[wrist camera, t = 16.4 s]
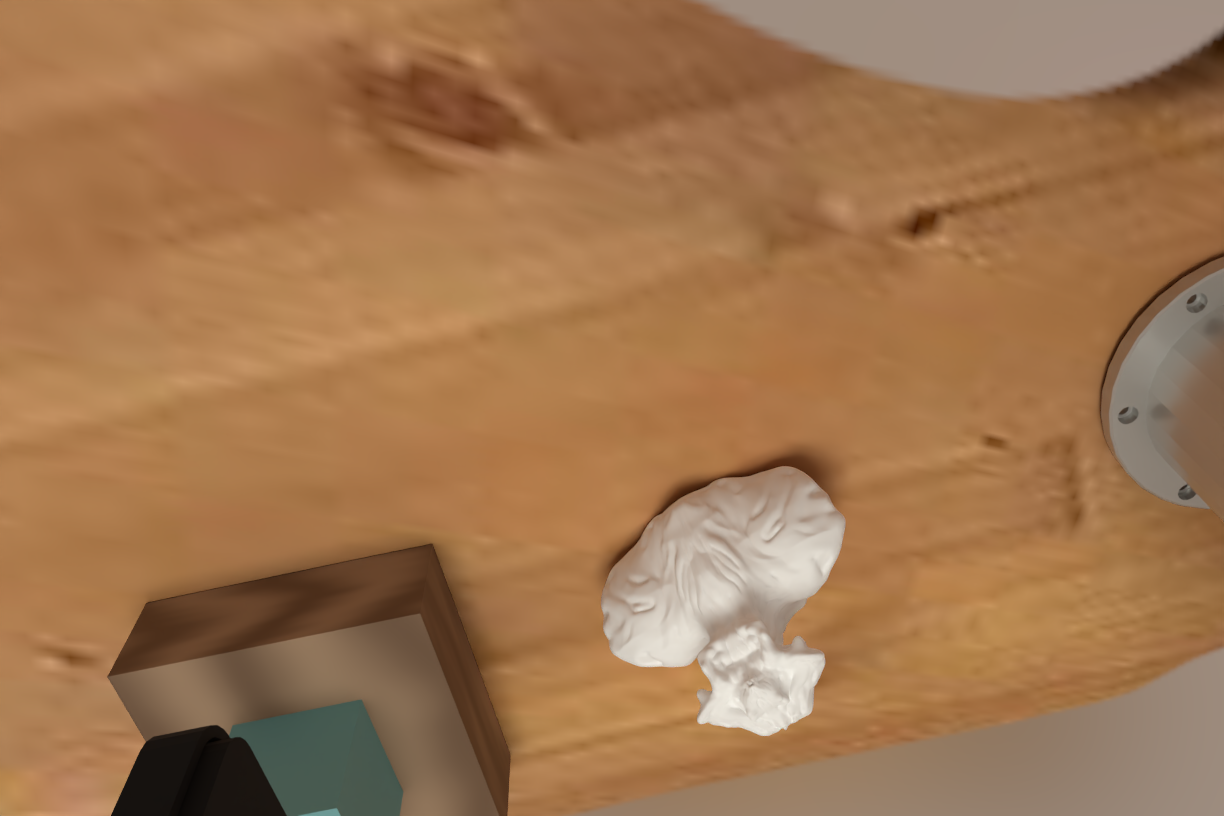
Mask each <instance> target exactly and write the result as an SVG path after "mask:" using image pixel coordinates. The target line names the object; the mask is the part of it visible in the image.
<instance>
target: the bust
mask: <svg viewBox="0 0 1224 816" xmlns="http://www.w3.org/2000/svg"><path fill="white" fill-rule="evenodd" d="M844 530H845V518H844V516H843V515H842V514H841V513H840V512H839V511H838V510H837V509H836V508H835V507H834V505H833V504H832V502H831V500H830V497H829V496H828V494H827V493H826V492H825V491H824V490H822V489H821V488H820V487H819V486H818V484H817V483H816V482H815V481H814V480H813V479H812V478H811V477H809V476H808V475H807V474H806V473H804V472H803V471H800V470H799V469H797V468H794V467H790V466H780V467H777V468H774V469H770V470H767V471H763V472H760V473H757V474H754V475H751V476H747V477H732V478H731V477H730V478H721V479H718V480H715V481H713V482H712V483H711V484H709V485H708V486H707V487H704V488H702V489H699V490H697V491H694V492H692V493H689V494H687V495H685V496H683V497H681V498H680V499H678V500H677V501H676V502H674V503H673V504H672V505H671V506H669V507H668V508H667V509H666V510H665V511H664V512H663V513H662V514H659V515H657V516H656V517H654V518H653V519H652V520H651V521H650V523H649V524H648V525H647V527H646V528H645V530H644V532H643V534H642V536H641V538H640V540H639V541H638V543H637V544H636V545H635V546H634V547H633V548H632V549H631V550H630V551H629V552H628V553H627V554H626V555H625V556H624V557H623V558H622V559H621V560H620V561H619V562H618V563H616V564H615V565H614V567H613V568H612V570H611V571H610V573H609V576H608V578H607V580H606V583H605V586H604V589H603V592H602V597H601V607H602V610H603V614H604V620H603V630H604V633H605V635H606V636H607V638H608V639H609V646H610V649H611V651H612V653H613V654H614V655H615V656H617V657H619V658H620V659H622V660H624V661H626V662H629V663H631V664H634V665H637V666H641V667H658V666H665V667H681V666H687V665H689V664H691V663H692V662H693V661H694V660H695V659H696V658H698V662H699V664H700V666H701V669H702V671H703V672H704V674H705V675H706V676H707V677H708V679H709V680H710V683H711V686H712V691H706V690H704V689H700V690H698V691H697V697H698V699H699V701H700V704H701V708H700V710H699V713H698V716H697V721H698V723H700V724H704V723H707V722H709V723H710V724H712V725H718V726H724V727H734V728H736V727H740V728H743V729H746V730H749V731H752V732H754V733H756V734H758V735H761V736H769V735H771V734H773V733H776V732H778V731H779V730H780V729H782V728H784V729H785V730H787V727H788V726H789V724H790V725H791V723H795V722H797V721H798V720H799V719H801V718H803V717H805V716H807V715H809V714H810V713H811V711H812V708H813V702H814V686H815V685H816V684H817V682H818V680H819V678H820V675H821V673H822V671H823V668H824V666H825V658H824V653H823V652H822V651H821V650H818V649H814V648H809V647H807V646H806V642H805V641H804V640H803V638H802V637H800V636H796V637H795V638H794V639H793V642H792V644H790V645H783V633H784V631H785V629H786V626H787V624H788V622H789V621H790V619H791V618H792V616H793V615H794V614H795V613H796V612H797V611H799V610H800V609H801V608H803V607H804V605H805V604H806V601H807V598H808V597H811V596H813V595H814V594H815V593H817V591H818V590H819V589H820V588H821V586H822V585H823V584H824V583H825V582H826V580H827V579H828V576H829V573H830V571H831V569H832V567H833V565H834V563H835V561H836V559H837V557H838V555H839V552H840V549H841V546H842V540H843V535H844Z"/></svg>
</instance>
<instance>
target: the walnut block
mask: <svg viewBox="0 0 1224 816" xmlns="http://www.w3.org/2000/svg"><path fill="white" fill-rule="evenodd" d="M108 679H109V680H110V682H111V684H112V685H113V687H114V689H115V690H116V692H117V694H118V696H119V697H120V699H121V701H122V702H123V704H124V706H125V707H126V709H127V711H128V712H129V714H130V716H131V717H132V719H133V721H134V722H135V724H136V726H137V728H138V729H139V731H140V733H141V734H142V736H143V738H144V739H145V741H146V742H147V741H148V740H149V739H151V738H152V737H154V736H159V735H164V734H169V733H174V732H179V731H184V730H189V729H194V728H199V727H204V726H209V725H218V726H220V727H221V728H223V729H224V730H225V731H226V732H227V734H228V735H229V734H230V731H231V729H232V726H233V725H237V724H242V723H247V722H252V721H257V720H262V719H267V718H271V717H276V716H281V715H286V714H291V713H296V712H301V711H306V710H311V709H316V708H321V707H326V706H331V705H336V704H341V703H346V702H351V701H356V700H361V699H362V702H363V704H364V706H365V708H366V711H367V713H368V715H369V717H370V719H371V722H372V724H373V726H374V728H375V730H376V733H377V735H378V737H379V739H380V741H381V744H382V746H383V748H384V750H385V752H386V755H387V757H388V759H389V761H390V763H391V766H392V768H393V770H394V772H395V774H396V777H397V779H398V781H399V783H400V785H401V788H402V790H403V798H402V804H401V810H400V816H507V812H508V793H509V774H510V753H509V750H508V747H507V745H506V742H505V739H504V737H503V734H502V731H501V728H500V726H499V723H498V720H497V718H496V715H495V712H494V710H493V707H492V704H491V701H490V699H489V696H488V693H487V691H486V688H485V685H484V682H483V680H482V677H481V674H480V672H479V669H478V666H477V664H476V661H475V658H474V655H473V653H472V650H471V647H470V645H469V642H468V639H467V636H466V634H465V631H464V628H463V626H462V623H461V620H460V618H459V615H458V612H457V609H456V607H455V604H454V601H453V599H452V596H451V593H450V590H449V588H448V585H447V582H446V580H445V577H444V574H443V572H442V569H441V566H440V563H439V561H438V558H437V555H436V553H435V550H434V547H433V545H432V544H430V545H425V546H420V547H415V548H411V549H406V550H401V551H396V552H391V553H386V554H382V555H377V556H372V557H367V558H362V559H357V560H353V561H348V562H343V563H338V564H333V565H329V566H324V567H319V568H314V569H309V570H304V571H300V572H295V573H290V574H285V575H280V576H275V577H271V578H266V579H261V580H256V581H251V582H247V583H242V584H237V585H232V586H227V587H222V588H218V589H213V590H208V591H203V592H198V593H193V594H189V595H184V596H179V597H174V598H169V599H165V600H160V601H155V602H150V603H146V605H145V607H144V609H143V611H142V613H141V615H140V616H139V618H138V620H137V622H136V624H135V626H134V628H133V630H132V632H131V633H130V635H129V637H128V639H127V641H126V643H125V645H124V647H123V649H122V650H121V652H120V654H119V656H118V658H117V660H116V662H115V664H114V665H113V667H112V669H111V671H110V673H109V675H108Z"/></svg>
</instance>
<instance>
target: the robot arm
mask: <svg viewBox="0 0 1224 816" xmlns="http://www.w3.org/2000/svg"><path fill="white" fill-rule="evenodd" d="M1101 419H1102V425H1103V431H1104V436H1105V439H1106V441H1107V443H1108V445H1109V448H1110V450H1111V452H1112V454H1113V456H1114V458H1115V459H1116V460H1117V461H1118V463H1119V464H1120V465H1121V466H1122V468H1123V469H1124V470H1125V471H1126V473H1127V474H1128V475H1129V476H1130V477H1131V478H1132V479H1133V480H1134V481H1135V482H1136V483H1137V484H1139V485H1140V486H1141V487H1142V488H1143V489H1145V490H1146V491H1148V492H1150V493H1151V494H1153V495H1155V496H1157V497H1158V498H1160V499H1162V500H1165V501H1168V502H1171V503H1173V504H1176V505H1180V506H1185V507H1193V508H1201V509H1211V510H1212V511H1213V512H1214V513H1215V514H1216V515H1217V516H1218V517H1219V518H1220V519H1221V520H1222V521H1223V522H1224V257H1222V258H1219V259H1216V260H1214V261H1211V262H1209V263H1208V264H1206V265H1204V266H1202V267H1201V268H1199V269H1197V270H1195V271H1194V272H1192V273H1190V274H1188V275H1186V276H1185V277H1183V278H1182V279H1180V280H1179V281H1178V282H1177V283H1175V284H1174V285H1173V286H1171V287H1170V288H1169V289H1168V290H1166V291H1165V292H1164V293H1162V294H1161V295H1160V296H1158V298H1157V299H1156V300H1155V301H1154V302H1153V303H1152V304H1151V305H1150V306H1149V307H1148V308H1147V309H1146V310H1145V311H1144V312H1143V313H1142V314H1141V315H1140V316H1139V317H1138V318H1137V320H1136V321H1135V322H1134V324H1133V325H1132V327H1131V328H1130V330H1129V331H1128V332H1127V334H1126V335H1125V337H1124V338H1123V340H1122V341H1121V342H1120V344H1119V347H1118V349H1117V351H1116V353H1115V355H1114V357H1113V359H1112V361H1111V363H1110V365H1109V368H1108V371H1107V375H1106V379H1105V383H1104V386H1103V390H1102V402H1101ZM111 816H287V815H286V813H285V811H284V809H283V808H282V806H281V804H280V802H279V800H278V798H277V796H276V794H275V792H274V791H273V789H272V787H271V785H270V783H269V781H268V779H267V777H266V776H265V774H264V772H263V770H262V768H261V766H260V764H259V762H258V760H257V759H256V757H255V755H254V753H253V751H252V749H251V747H250V746H249V744H248V743H247V742H246V740H244V739H243V738H241V737H234V738H230V737H229V735H228V734H227V732H226V731H225V730H224V729H223V728H221V727H220V726H218V725H209V726H204V727H199V728H194V729H189V730H184V731H179V732H174V733H169V734H164V735H159V736H154V737H152V738H151V739H149V740H148V741H147V742H146V743H145V744H144V746H143V747H142V749H141V751H140V753H139V755H138V757H137V759H136V761H135V764H134V766H133V768H132V770H131V772H130V775H129V777H128V779H127V781H126V783H125V786H124V788H123V790H122V792H121V795H120V797H119V799H118V801H117V803H116V806H115V808H114V810H113V812H112V814H111Z"/></svg>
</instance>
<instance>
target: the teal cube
mask: <svg viewBox="0 0 1224 816" xmlns="http://www.w3.org/2000/svg"><path fill="white" fill-rule="evenodd" d="M229 737H230V738H234V737H241V738H243V739H244V740H246V742H247V743H248V744H249V746H250V747H251V749H252V751H253V753H254V755H255V757H256V759H257V760H258V762H259V764H260V766H261V768H262V770H263V772H264V774H265V776H266V777H267V779H268V781H269V783H270V785H271V787H272V789H273V791H274V792H275V794H276V796H277V798H278V800H279V802H280V804H281V806H282V808H283V809H284V811H285V813H286V815H287V816H400V810H401V804H402V798H403V790H402V788H401V785H400V783H399V781H398V779H397V777H396V774H395V772H394V770H393V768H392V766H391V763H390V761H389V759H388V757H387V755H386V752H385V750H384V748H383V746H382V744H381V741H380V739H379V737H378V735H377V733H376V730H375V728H374V726H373V724H372V722H371V719H370V717H369V715H368V713H367V711H366V708H365V706H364V704H363V702H362V699H361V700H356V701H351V702H346V703H341V704H336V705H331V706H326V707H321V708H316V709H311V710H306V711H301V712H296V713H291V714H286V715H281V716H276V717H271V718H267V719H262V720H257V721H252V722H247V723H242V724H237V725H233V726H232V729H231V731H230V734H229Z"/></svg>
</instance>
